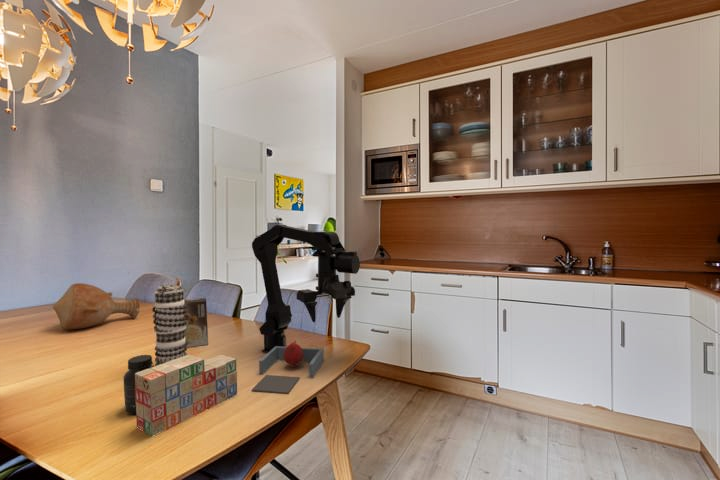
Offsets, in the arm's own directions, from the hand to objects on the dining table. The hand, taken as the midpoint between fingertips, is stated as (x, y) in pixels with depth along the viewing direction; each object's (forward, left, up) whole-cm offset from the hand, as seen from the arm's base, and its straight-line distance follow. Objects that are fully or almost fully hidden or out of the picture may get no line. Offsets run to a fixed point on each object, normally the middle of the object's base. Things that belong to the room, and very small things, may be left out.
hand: (326, 319), depth 111 cm
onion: (-9, -7, -13) cm, 17 cm away
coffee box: (-51, +7, -13) cm, 53 cm away
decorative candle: (-45, -13, -13) cm, 49 cm away
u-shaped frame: (-9, -8, -13) cm, 17 cm away
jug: (-107, +23, -13) cm, 110 cm away
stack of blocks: (-24, -34, -13) cm, 44 cm away
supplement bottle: (-36, -35, -13) cm, 52 cm away
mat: (-9, -19, -13) cm, 25 cm away
